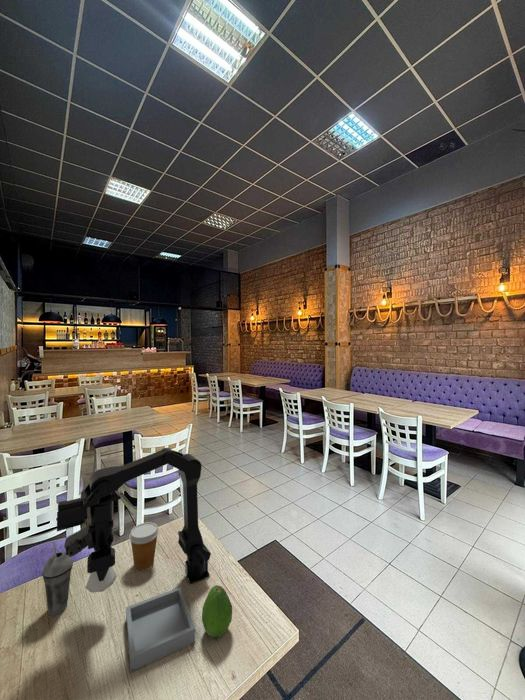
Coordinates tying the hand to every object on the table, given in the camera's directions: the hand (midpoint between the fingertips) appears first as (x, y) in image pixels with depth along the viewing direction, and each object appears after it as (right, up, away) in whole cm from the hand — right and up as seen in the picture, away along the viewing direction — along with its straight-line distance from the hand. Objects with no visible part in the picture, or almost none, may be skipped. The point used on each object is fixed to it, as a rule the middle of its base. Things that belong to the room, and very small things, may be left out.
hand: (101, 573), depth 82 cm
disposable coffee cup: (+4, -12, +20) cm, 24 cm away
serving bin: (+17, -13, -4) cm, 22 cm away
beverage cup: (-14, -12, +3) cm, 19 cm away
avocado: (+33, -13, -4) cm, 35 cm away
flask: (0, -3, 0) cm, 3 cm away
